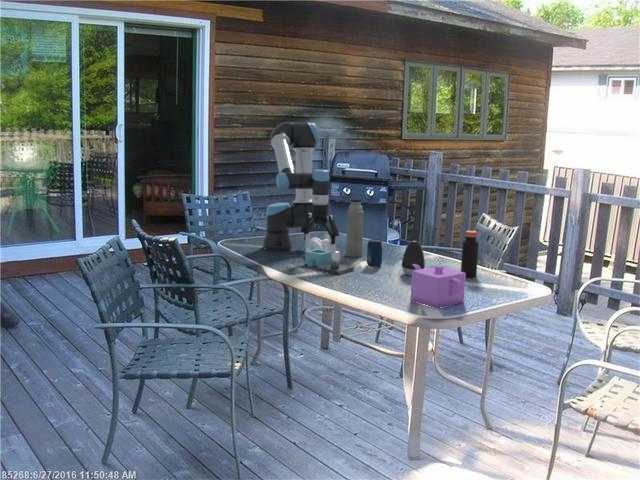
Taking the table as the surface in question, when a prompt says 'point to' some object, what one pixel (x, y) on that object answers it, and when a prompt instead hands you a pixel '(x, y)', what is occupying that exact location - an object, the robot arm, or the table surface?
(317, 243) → the white coiled rope
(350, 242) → the thermos bottle
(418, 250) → the egg shaped speaker
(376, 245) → the soda can
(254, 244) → the table surface
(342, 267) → the post base
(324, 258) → the teal rectangular planter
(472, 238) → the black water bottle
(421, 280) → the teapot
